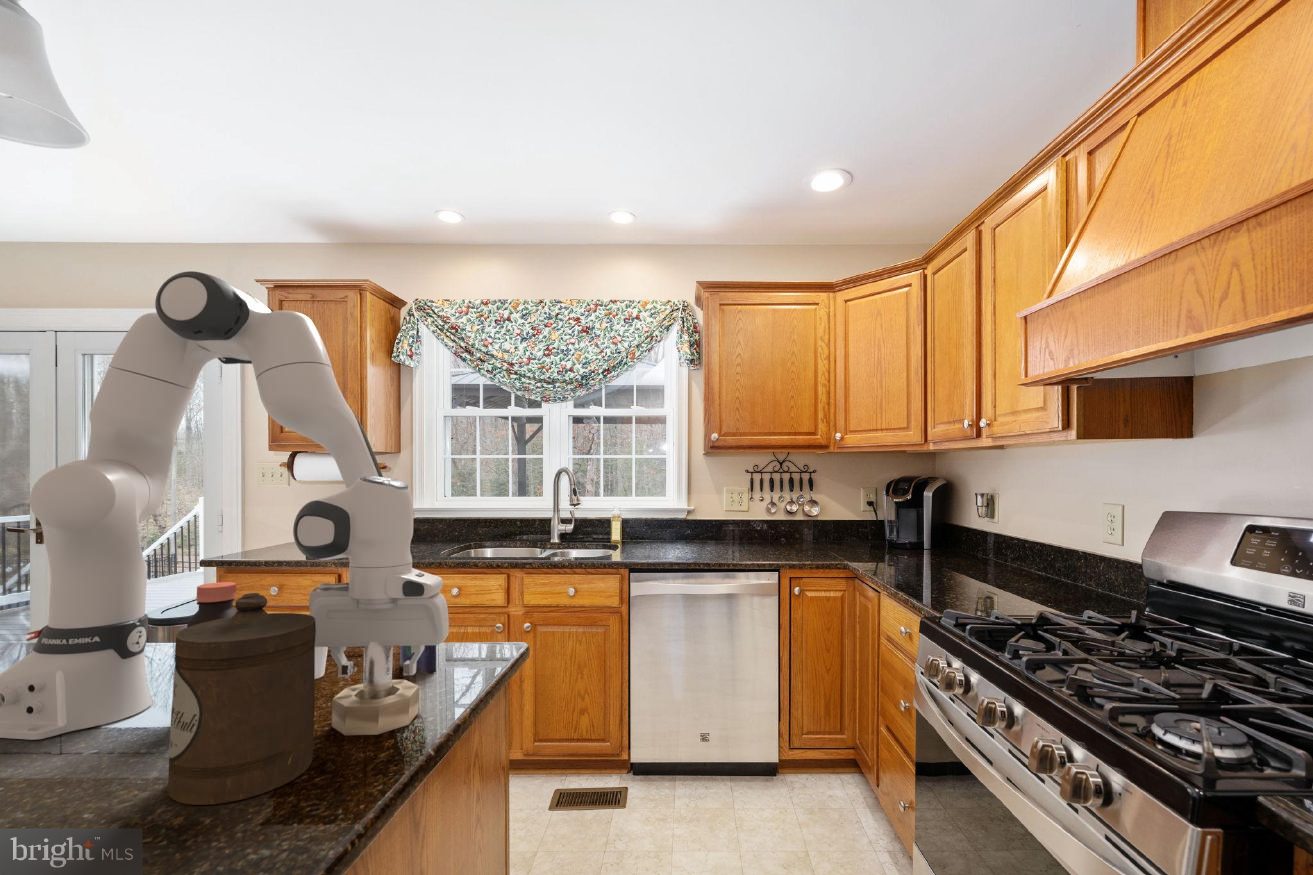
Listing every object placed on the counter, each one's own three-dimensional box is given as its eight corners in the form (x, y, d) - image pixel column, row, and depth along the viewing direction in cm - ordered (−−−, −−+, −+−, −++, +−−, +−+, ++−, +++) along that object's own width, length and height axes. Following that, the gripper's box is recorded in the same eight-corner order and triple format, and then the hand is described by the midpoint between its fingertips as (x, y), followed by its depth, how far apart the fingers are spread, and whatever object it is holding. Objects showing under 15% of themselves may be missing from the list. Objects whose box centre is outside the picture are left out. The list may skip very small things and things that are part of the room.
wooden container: (188, 759, 78) (197, 588, 80) (318, 739, 84) (324, 580, 86) (146, 819, 65) (158, 611, 66) (304, 790, 71) (312, 600, 72)
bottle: (219, 727, 88) (226, 588, 89) (170, 728, 88) (177, 589, 89) (247, 709, 95) (253, 580, 96) (202, 710, 95) (208, 580, 96)
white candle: (357, 724, 89) (360, 621, 90) (367, 714, 93) (371, 615, 94) (385, 723, 90) (388, 621, 91) (394, 713, 94) (397, 615, 95)
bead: (321, 736, 86) (322, 707, 86) (353, 706, 96) (354, 680, 97) (401, 733, 86) (402, 705, 87) (424, 704, 97) (425, 679, 98)
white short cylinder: (308, 683, 107) (310, 643, 107) (275, 680, 108) (277, 641, 108) (336, 671, 113) (338, 633, 114) (305, 668, 115) (306, 631, 115)
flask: (396, 666, 116) (398, 610, 117) (410, 662, 119) (411, 607, 120) (427, 675, 112) (429, 616, 112) (441, 671, 114) (442, 613, 115)
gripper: (299, 587, 89) (295, 683, 88) (442, 585, 90) (439, 680, 90) (319, 579, 95) (316, 669, 94) (453, 578, 97) (450, 666, 96)
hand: (377, 674), depth 92 cm, fingers open, 8 cm apart
